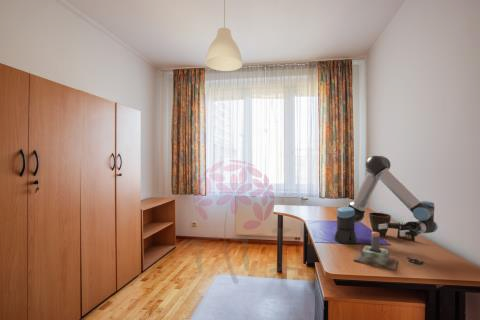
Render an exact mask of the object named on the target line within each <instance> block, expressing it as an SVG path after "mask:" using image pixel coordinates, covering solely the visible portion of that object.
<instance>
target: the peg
mask: <svg viewBox="0 0 480 320" xmlns="http://www.w3.org/2000/svg"><path fill="white" fill-rule="evenodd" d="M370 237H371V242H370V244H371V251H373V252H378V253H379V248H380V238H381V236H380V233H378V232H373V231H371V236H370Z"/></svg>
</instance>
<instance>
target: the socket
mask: <svg viewBox="0 0 480 320" xmlns="http://www.w3.org/2000/svg"><path fill="white" fill-rule="evenodd" d="M389 250H390V249H386V248H383V247H382V248H381V247H379V253H378V252H373V251H371V246H369V245H364V247H363V248H362V250H361V251H360V250H358V252H357V253H356V255H355V256H354V258H353V260H352V261H353V262H356V263H360V264H365V265H369V266H374V267H378V268H382V269H386V270H391V271H396V268H397V262H398V259H397V258H394V257H390V256H389V254H390V253H389V252H390V251H389Z"/></svg>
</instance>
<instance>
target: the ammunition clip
mask: <svg viewBox="0 0 480 320" xmlns="http://www.w3.org/2000/svg"><path fill="white" fill-rule="evenodd" d="M398 223H400V224H406V223H405V222H400V221H399V222H398ZM400 231H403V230H398V229H397V239H400V240H406V241H410V242H416V237H415V236H414V235H412V236H411V235H407V236H400Z"/></svg>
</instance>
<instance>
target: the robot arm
mask: <svg viewBox="0 0 480 320" xmlns="http://www.w3.org/2000/svg"><path fill="white" fill-rule="evenodd" d="M365 167H366V169H365V172H366V175H365V178H364V179H363V181H362V183H361V185H360V187H359V189H358V191H357V193H356V195H355V197H354V199H353V200H352V202H349V204H348V206H341V207H338V208H337V211H336V229H335V230H336V231H335V234H334V237H333V240H334V241H335V242H337V243H341V244H343V245H344V244H345V245H355V244H357V243H358V237H357V234H356V231H355V226H356V225H355V224H357V223H361V221H363V219H364V217H365V212H366V211H367V210H366V206H367V204H368V202H369V200H370V198H371V196H372V194H373V192H374V190H375V188H376V186H377V185H378V183H379V181H380V182H381V183H383V184H384V185H385V187H386V188H387V189H389V190H390V192H392V194H394V196H395V197H396V198H397V199H398V200H399V201H400V202H402V204H403V205H404V206H405V207H406V208H407V209H408V210H409V212H411V213H412V215H413V217H414V218H415V220H413V221H412V220H411V221H408V222H406V223H405V224H404V223H403V224H401V222H400V223H399V222H397V223H396V222H390V223H385V222H384V224H379V226H378V229H387V228H388V229H396V230H397V231H398V230H400V236H407V235H411V236H412V235H414V236H415V238H416V237H418V235H420V234H431V233H434V232H436V231H437V230H438V227H439V226H438V224H437V222H436V221H434V220H435V219H434V218H435V203H434V202H433V201H427V200H419V199H418V198H417V196H415V195H414V194H413V193H412V192H411V191H410V190H409V189H408V188H407V187H406V186H405V185H404V184H403V183H402V182H400V181H399V179H398V178H396V176H395V175H394V174H393V173H392V172H390V171H389V170H390V169H391V160H389V158H387V157H386V156H383V155H371V156H369V157H368V158H367V159H366V161H365ZM401 230H403V231H401Z"/></svg>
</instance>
